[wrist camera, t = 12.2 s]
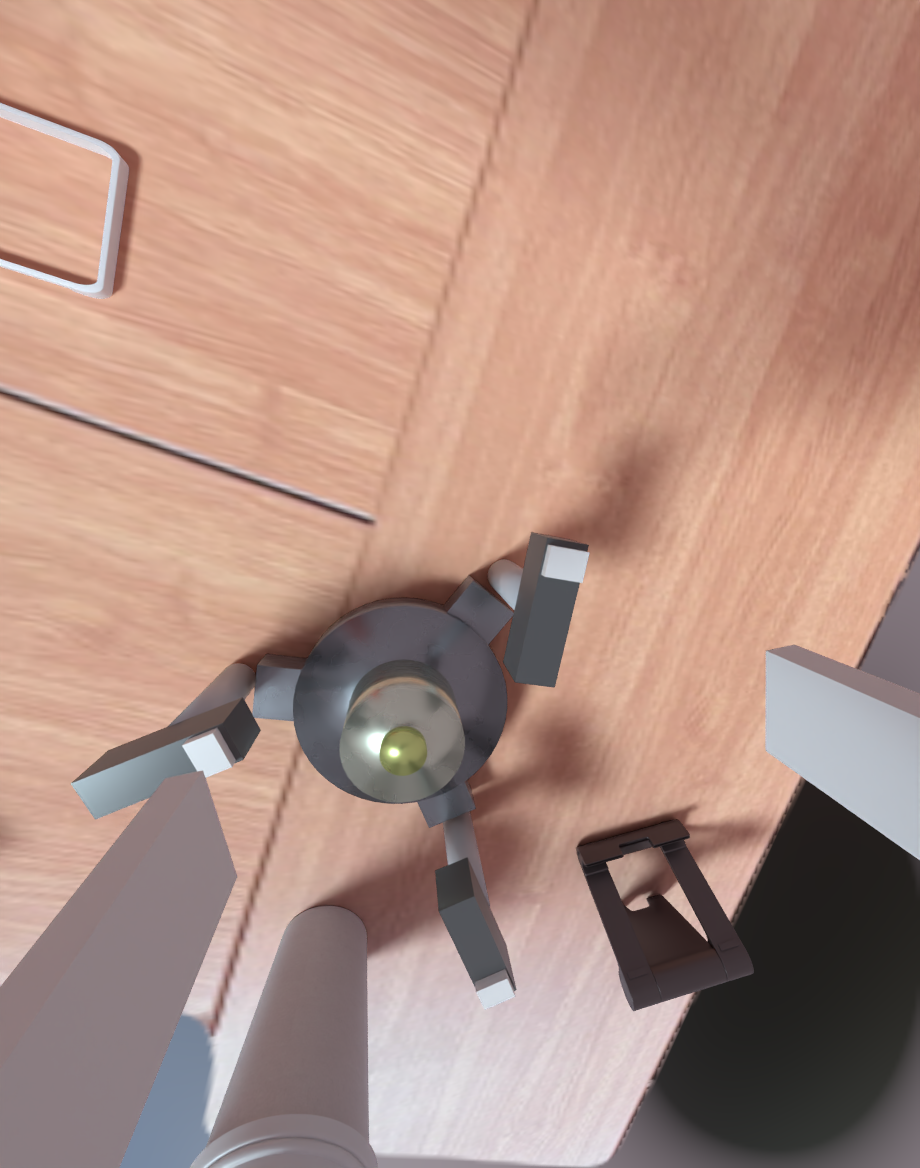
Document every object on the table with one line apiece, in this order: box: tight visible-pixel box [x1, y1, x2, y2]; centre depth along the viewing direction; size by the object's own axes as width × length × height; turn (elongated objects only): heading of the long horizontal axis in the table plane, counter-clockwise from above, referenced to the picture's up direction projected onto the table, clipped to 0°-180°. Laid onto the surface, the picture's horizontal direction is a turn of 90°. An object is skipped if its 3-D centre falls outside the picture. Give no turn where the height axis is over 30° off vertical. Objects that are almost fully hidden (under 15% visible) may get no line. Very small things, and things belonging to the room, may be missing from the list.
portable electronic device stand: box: [576, 819, 753, 1011], centre depth 34 cm, size 9×8×8 cm
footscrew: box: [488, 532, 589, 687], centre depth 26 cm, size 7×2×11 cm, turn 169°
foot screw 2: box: [435, 812, 516, 1010], centre depth 29 cm, size 7×2×11 cm, turn 20°
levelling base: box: [252, 575, 514, 828], centre depth 28 cm, size 18×16×8 cm
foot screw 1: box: [71, 663, 261, 819], centre depth 25 cm, size 7×2×11 cm, turn 111°
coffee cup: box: [190, 906, 378, 1168], centre depth 28 cm, size 10×10×15 cm
